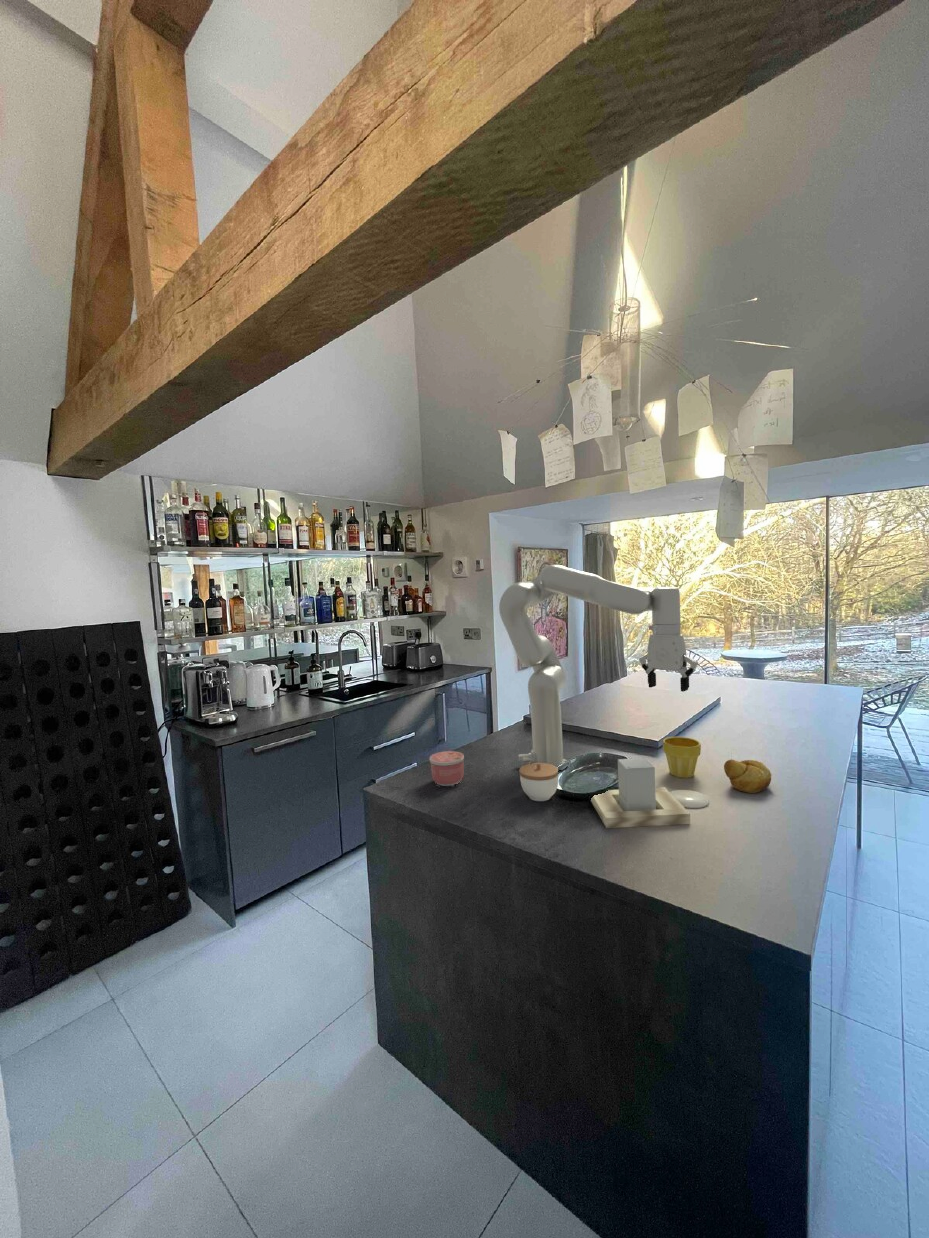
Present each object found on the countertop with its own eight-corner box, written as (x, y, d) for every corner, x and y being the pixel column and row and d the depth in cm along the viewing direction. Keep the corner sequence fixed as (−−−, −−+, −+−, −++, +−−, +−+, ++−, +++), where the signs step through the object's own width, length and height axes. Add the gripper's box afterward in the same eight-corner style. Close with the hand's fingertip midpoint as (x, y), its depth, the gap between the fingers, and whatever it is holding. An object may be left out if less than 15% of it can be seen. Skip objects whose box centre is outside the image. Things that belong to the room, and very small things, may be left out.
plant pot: (703, 770, 155) (702, 738, 155) (699, 782, 146) (698, 748, 146) (666, 765, 161) (665, 734, 160) (660, 777, 152) (659, 744, 151)
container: (458, 790, 150) (457, 763, 150) (425, 787, 154) (423, 761, 153) (469, 777, 160) (468, 751, 160) (438, 774, 164) (437, 750, 163)
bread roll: (748, 776, 149) (747, 749, 148) (783, 786, 140) (782, 758, 140) (720, 787, 142) (720, 758, 142) (755, 799, 134) (754, 769, 134)
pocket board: (606, 828, 123) (606, 817, 123) (590, 800, 139) (589, 790, 139) (690, 823, 123) (690, 813, 122) (664, 796, 139) (664, 787, 138)
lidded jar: (561, 789, 146) (559, 757, 146) (557, 806, 136) (556, 771, 136) (523, 787, 149) (522, 756, 149) (517, 803, 139) (515, 769, 138)
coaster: (676, 809, 131) (676, 806, 131) (661, 793, 141) (661, 790, 141) (716, 807, 130) (716, 804, 130) (698, 791, 140) (698, 789, 140)
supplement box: (657, 817, 127) (655, 767, 126) (626, 818, 127) (625, 768, 126) (647, 804, 134) (645, 757, 133) (618, 805, 134) (616, 758, 134)
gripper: (632, 630, 152) (634, 687, 153) (690, 632, 139) (691, 694, 140) (645, 627, 157) (647, 683, 158) (702, 629, 144) (704, 689, 145)
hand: (668, 688), depth 149 cm, fingers open, 9 cm apart
